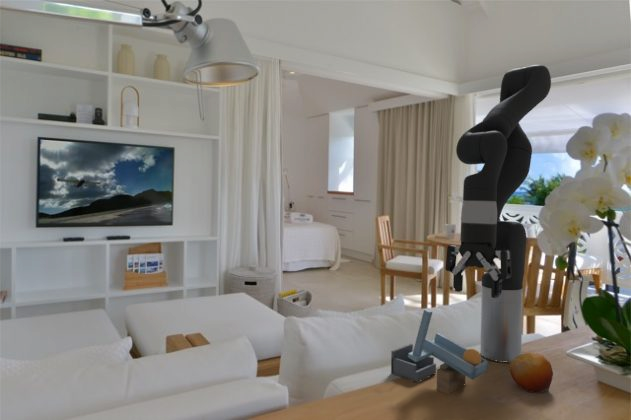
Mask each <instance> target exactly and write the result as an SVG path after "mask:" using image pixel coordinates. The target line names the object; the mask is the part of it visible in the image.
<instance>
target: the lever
mask: <svg viewBox="0 0 631 420" xmlns="http://www.w3.org/2000/svg"><path fill="white" fill-rule="evenodd" d="M432 315H433V310H430V309H429V308H425V309H424V310H423V313H422V317H421V320H420V324H419V328H418V331H417V336H416V339H415V344H414V345H413V352H410V353H408V357H409V358H410V359H412V360H413V361H415V362H417V361H419V360H422V359H424V358H426V357H429V356H431V357H434V358H436V359H437V360H439V361H440V362H442V363H443V364H444V363H445V364H447V365H449V366H450V367H452V368H454V369H455V370H457V371H458V372H460V373H462V374H463V375H465V376H466V378H469V379H470V380H471V381H473V380H475V379H477V378H479V377H481V376H482V375H485V374H486V373H487V371H488V367H489V364H490V361H489V360H488V359H487V358H485V357H483V356H481V363H480V364H478V365H476V366H473V365H471V364H469V363H468V362H466V361H464V360H463V354H464V352H465V351H466V350H468V349H469V348H466V347H464V346H463V345H460V344H459V343H457V342H455V341H453V340H451V339H450V338H448V337H446V336H445V335H443V334H441V333H439V332H436V333H435V337H434V339H432V340H430V339H428V338H427V334H428V331H429V327H430V323H431V320H432Z"/></svg>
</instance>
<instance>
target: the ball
mask: <svg viewBox="0 0 631 420" xmlns="http://www.w3.org/2000/svg"><path fill="white" fill-rule="evenodd" d="M467 349H468V350H466V351H465V352H464V354H463V360H464V361H466V362H468V363H469V364H471V365H473V366H476V365H478V364H480V363H481V357H482V355H481V354H480V352H479V351H478V350H476V349H474V348H473V349H472V348H467Z"/></svg>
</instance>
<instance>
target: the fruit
mask: <svg viewBox="0 0 631 420" xmlns="http://www.w3.org/2000/svg"><path fill="white" fill-rule="evenodd" d="M508 370H509V373H510V375H511V378H512V379H513V381H514V382H515V383H516V385H517V387H518V386H519V387H520V388H521V389H522V390H524V391H526V392H528V393H529V392H530V393H542V392H547V393H549V391H550V387H551V385H552V380H553V376H554V372H553V368H552V364H551V362H550V361H549V360H548V359H547V358H546V357H545V356H544V355H541V354H539V353H535V352H528V353H527V352H525V353H521V355H519V356H517V357H516V358H515V359H513V360H512V361H511V363H509V365H508Z"/></svg>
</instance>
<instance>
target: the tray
mask: <svg viewBox="0 0 631 420" xmlns="http://www.w3.org/2000/svg"><path fill="white" fill-rule="evenodd" d="M413 350H414V345H413V343H409V344H405V345H404V346H401V347H399V348H398V347H397V348H395V349H392V350H391V352H390V353H391V360H390V361H391V362H390V363H391V366H390V373H391V375H393V376H397V377H399V378H403V379H405V378H407V379H406V380H408V379H410V380H409V381H411V380H413V381H415V382H414V383H416V382H418V383H420V382H421V381H420V380H422V381H424V380H426V379H428V378H429V377H428V376H430V375H432V374H434V373H436V374H437V363H435V362H434V361H435V359H434V358H435V357H434V356H432V355H431V356H429V357H426V358H424V359H422V360H419V361H417V362H415V361H413V360H412V359H410V358H409V357H408V353H410V352H413ZM434 375H435V374H434ZM432 376H433V375H432ZM427 377H428V378H427ZM430 377H431V376H430ZM425 378H426V379H425ZM423 379H424V380H423ZM413 381H412V382H413ZM419 381H420V382H419Z"/></svg>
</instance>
